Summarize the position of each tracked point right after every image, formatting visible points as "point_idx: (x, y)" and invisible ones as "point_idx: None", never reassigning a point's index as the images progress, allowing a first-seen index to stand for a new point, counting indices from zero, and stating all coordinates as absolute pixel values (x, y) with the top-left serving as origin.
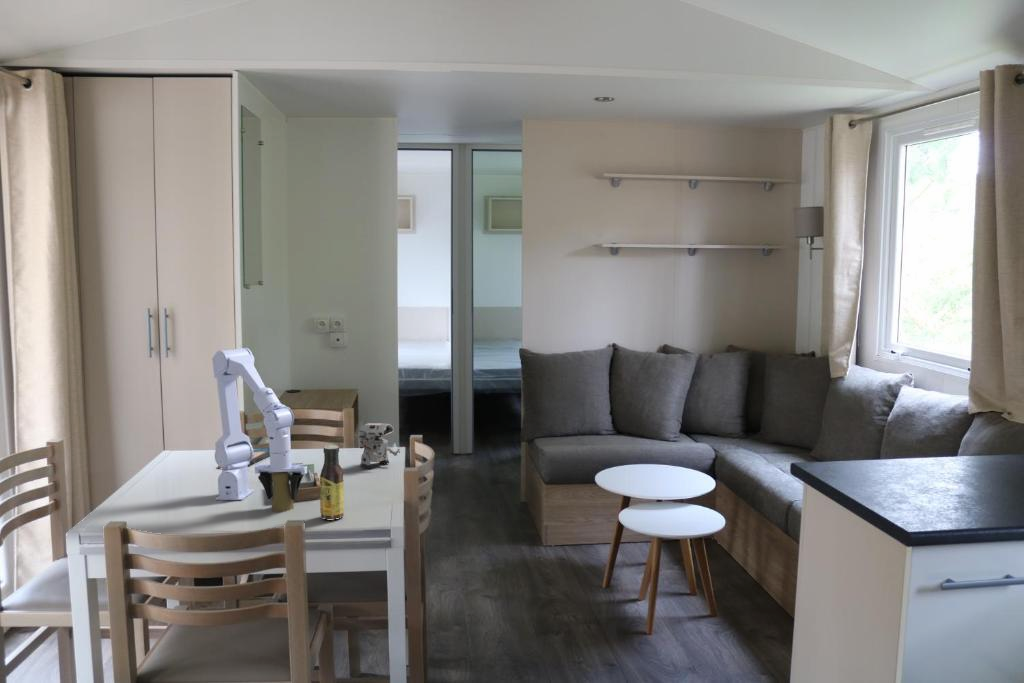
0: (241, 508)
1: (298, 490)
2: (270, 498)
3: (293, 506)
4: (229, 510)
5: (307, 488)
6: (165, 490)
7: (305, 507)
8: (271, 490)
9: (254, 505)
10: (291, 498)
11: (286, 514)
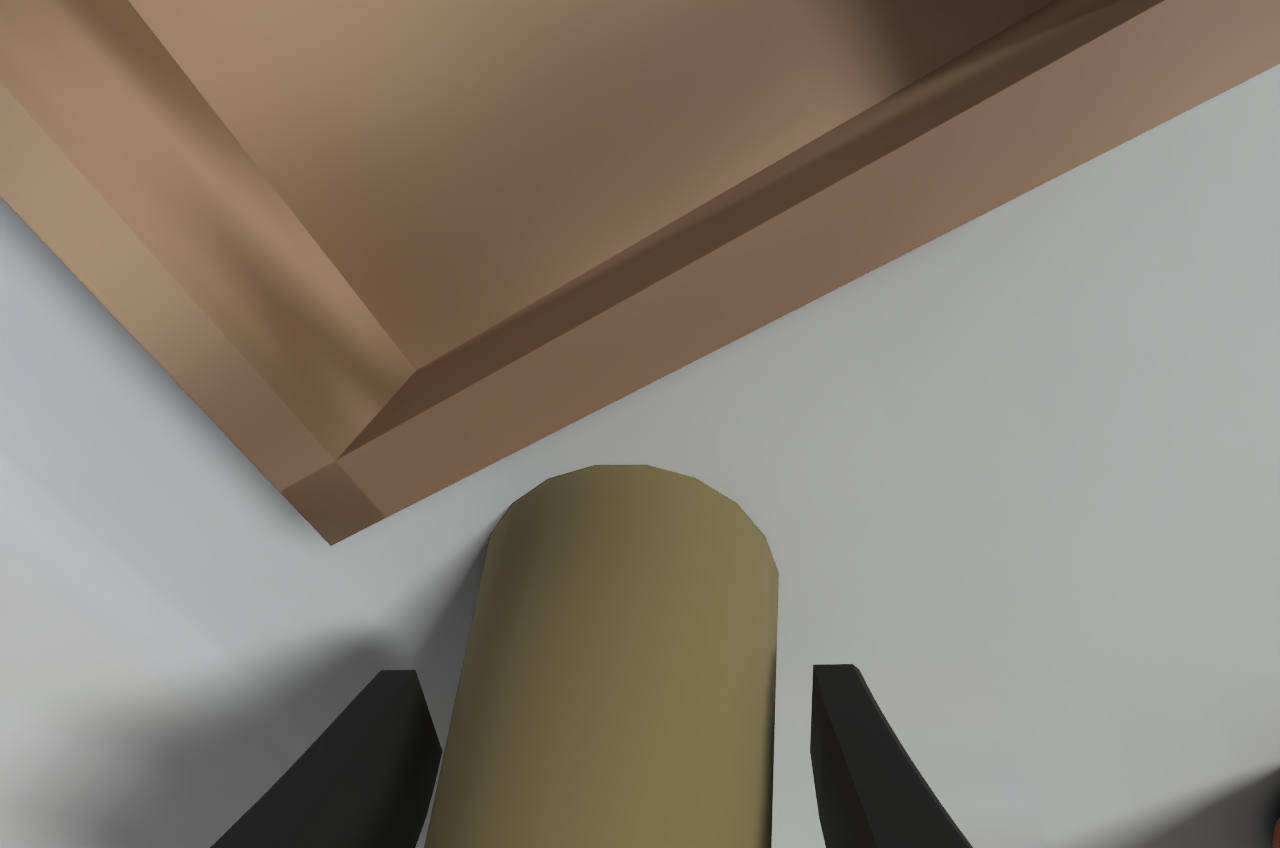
0: (120, 633)
1: (734, 330)
2: (435, 737)
3: (769, 561)
4: (58, 695)
5: (961, 212)
6: None
7: (948, 522)
8: (365, 805)
9: (171, 526)
10: (774, 699)
11: (783, 749)
